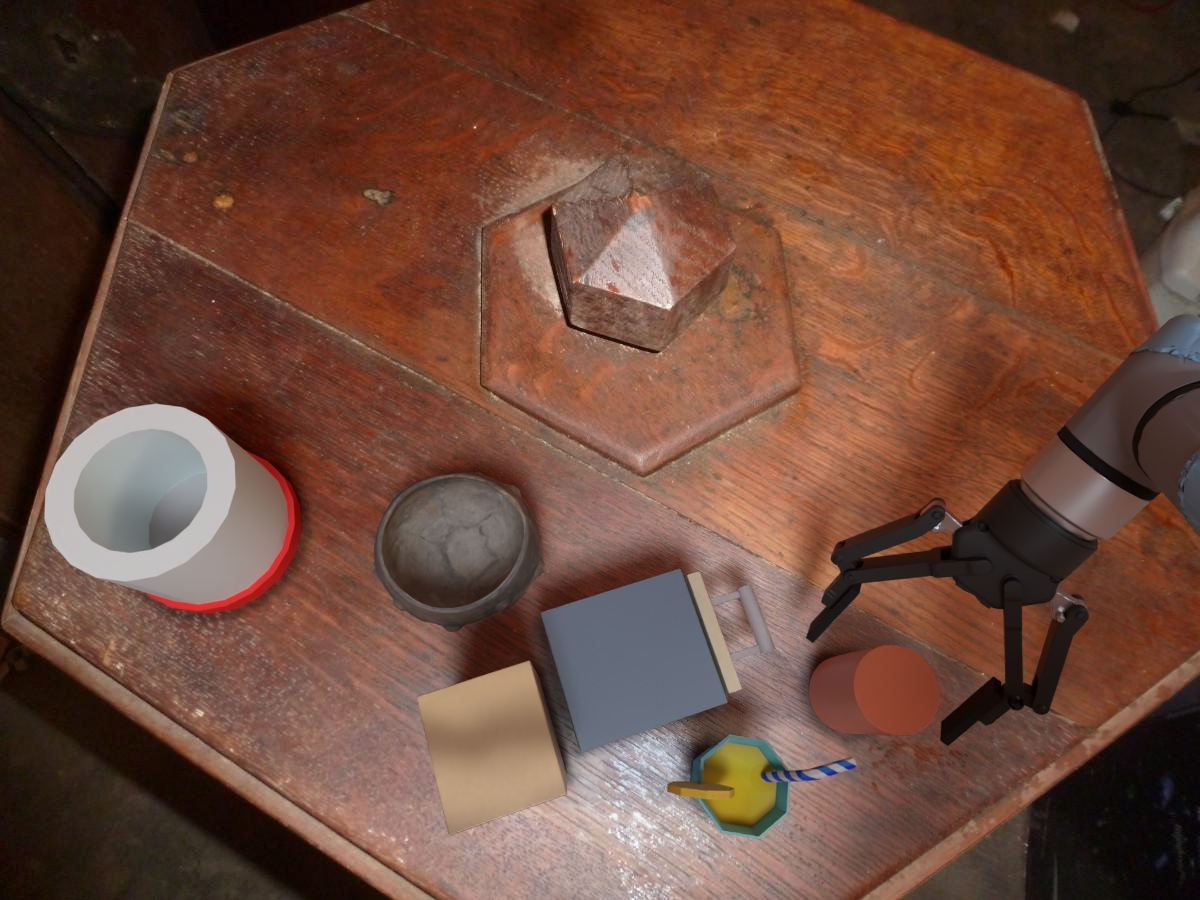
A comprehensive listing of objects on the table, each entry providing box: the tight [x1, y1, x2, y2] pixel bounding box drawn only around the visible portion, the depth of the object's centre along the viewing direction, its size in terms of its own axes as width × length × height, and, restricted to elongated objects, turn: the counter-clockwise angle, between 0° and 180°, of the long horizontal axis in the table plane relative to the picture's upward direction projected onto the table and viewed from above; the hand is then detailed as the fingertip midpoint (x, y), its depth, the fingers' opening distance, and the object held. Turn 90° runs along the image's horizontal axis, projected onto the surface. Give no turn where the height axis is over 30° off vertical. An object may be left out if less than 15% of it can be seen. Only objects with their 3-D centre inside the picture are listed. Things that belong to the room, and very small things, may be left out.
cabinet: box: [540, 567, 729, 754], centre depth 69 cm, size 13×12×10 cm
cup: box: [666, 734, 857, 840], centre depth 63 cm, size 14×8×15 cm, turn 104°
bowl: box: [371, 471, 546, 633], centre depth 71 cm, size 14×15×10 cm
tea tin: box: [808, 644, 941, 737], centre depth 67 cm, size 7×7×12 cm
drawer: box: [684, 570, 776, 695], centre depth 69 cm, size 16×10×8 cm, turn 108°
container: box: [43, 403, 303, 615], centre depth 69 cm, size 16×16×15 cm
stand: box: [416, 660, 568, 836], centre depth 61 cm, size 9×8×20 cm
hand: (876, 683), depth 67 cm, fingers open, 13 cm apart
